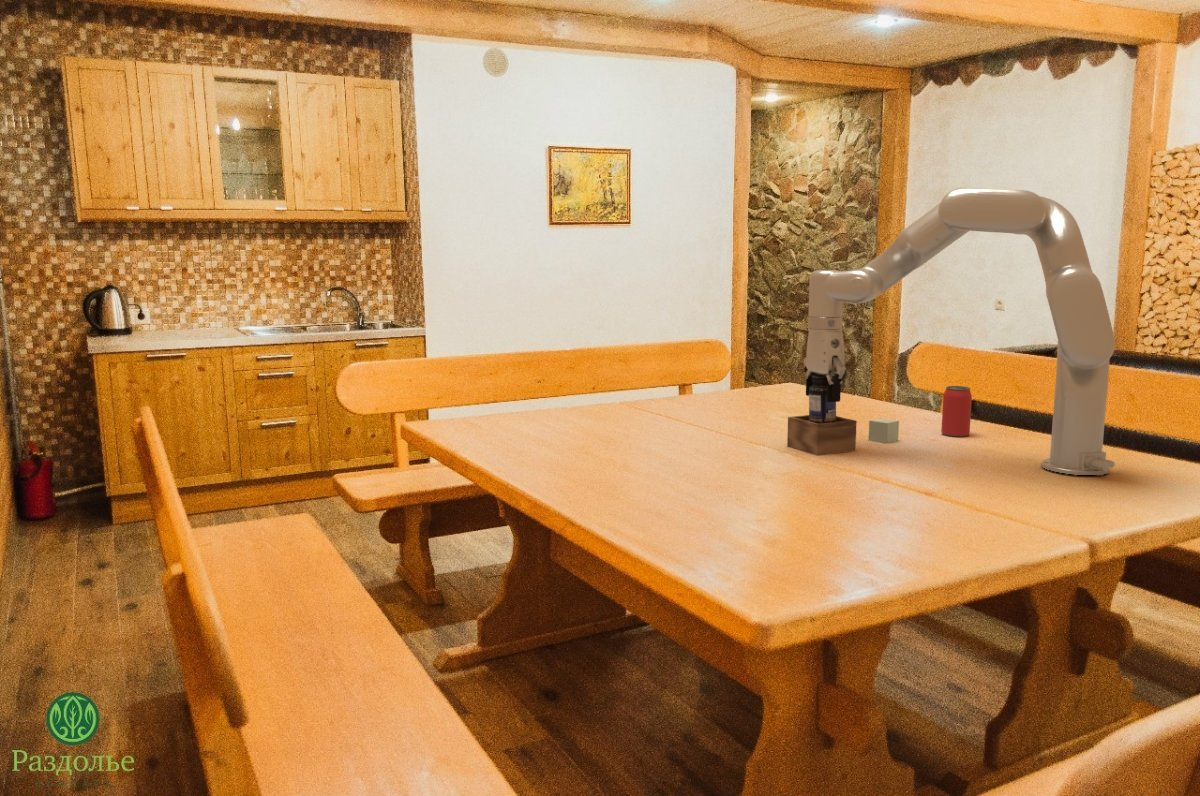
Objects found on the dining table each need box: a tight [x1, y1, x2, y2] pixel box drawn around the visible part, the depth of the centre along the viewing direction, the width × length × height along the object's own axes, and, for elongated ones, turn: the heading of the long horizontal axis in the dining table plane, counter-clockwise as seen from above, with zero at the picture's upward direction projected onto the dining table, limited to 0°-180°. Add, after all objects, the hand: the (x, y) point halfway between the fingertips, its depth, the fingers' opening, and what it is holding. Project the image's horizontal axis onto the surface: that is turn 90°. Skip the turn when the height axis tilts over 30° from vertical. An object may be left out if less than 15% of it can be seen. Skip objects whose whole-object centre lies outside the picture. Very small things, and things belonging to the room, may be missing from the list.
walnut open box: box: [786, 414, 858, 456], centre depth 208 cm, size 11×11×7 cm
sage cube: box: [867, 417, 900, 444], centre depth 217 cm, size 5×5×5 cm
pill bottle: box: [808, 374, 837, 424], centre depth 207 cm, size 6×6×11 cm
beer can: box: [940, 385, 973, 438], centre depth 223 cm, size 7×7×12 cm
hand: (822, 398), depth 207 cm, fingers open, 9 cm apart
